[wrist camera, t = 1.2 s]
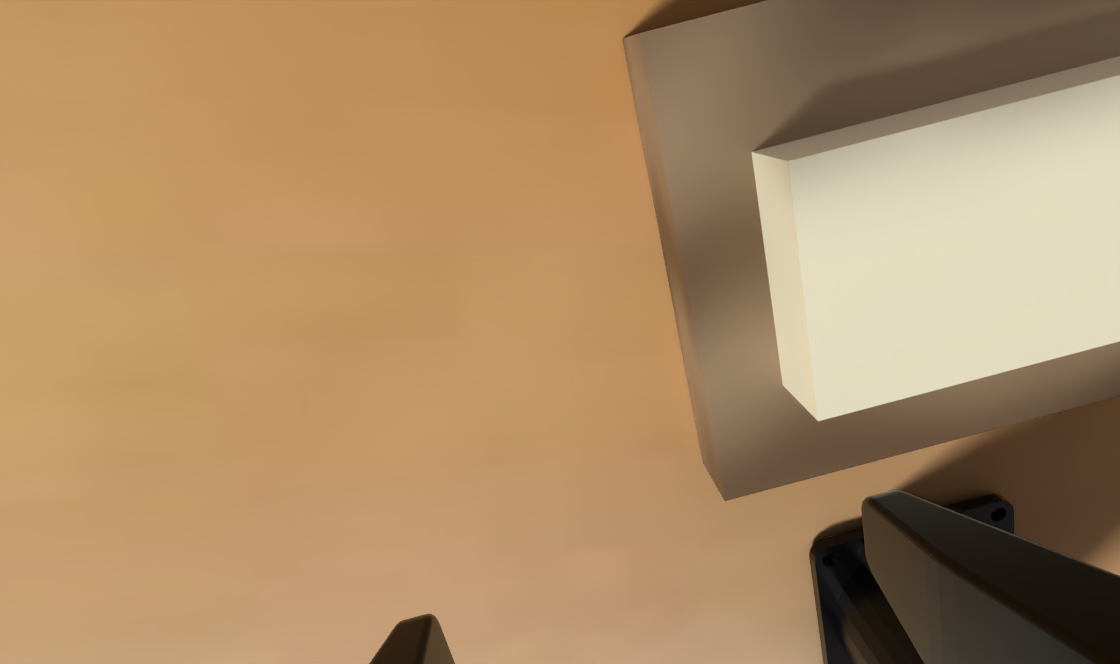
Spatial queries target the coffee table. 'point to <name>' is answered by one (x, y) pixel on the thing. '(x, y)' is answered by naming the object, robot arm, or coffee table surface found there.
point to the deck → (734, 219)
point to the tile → (945, 241)
